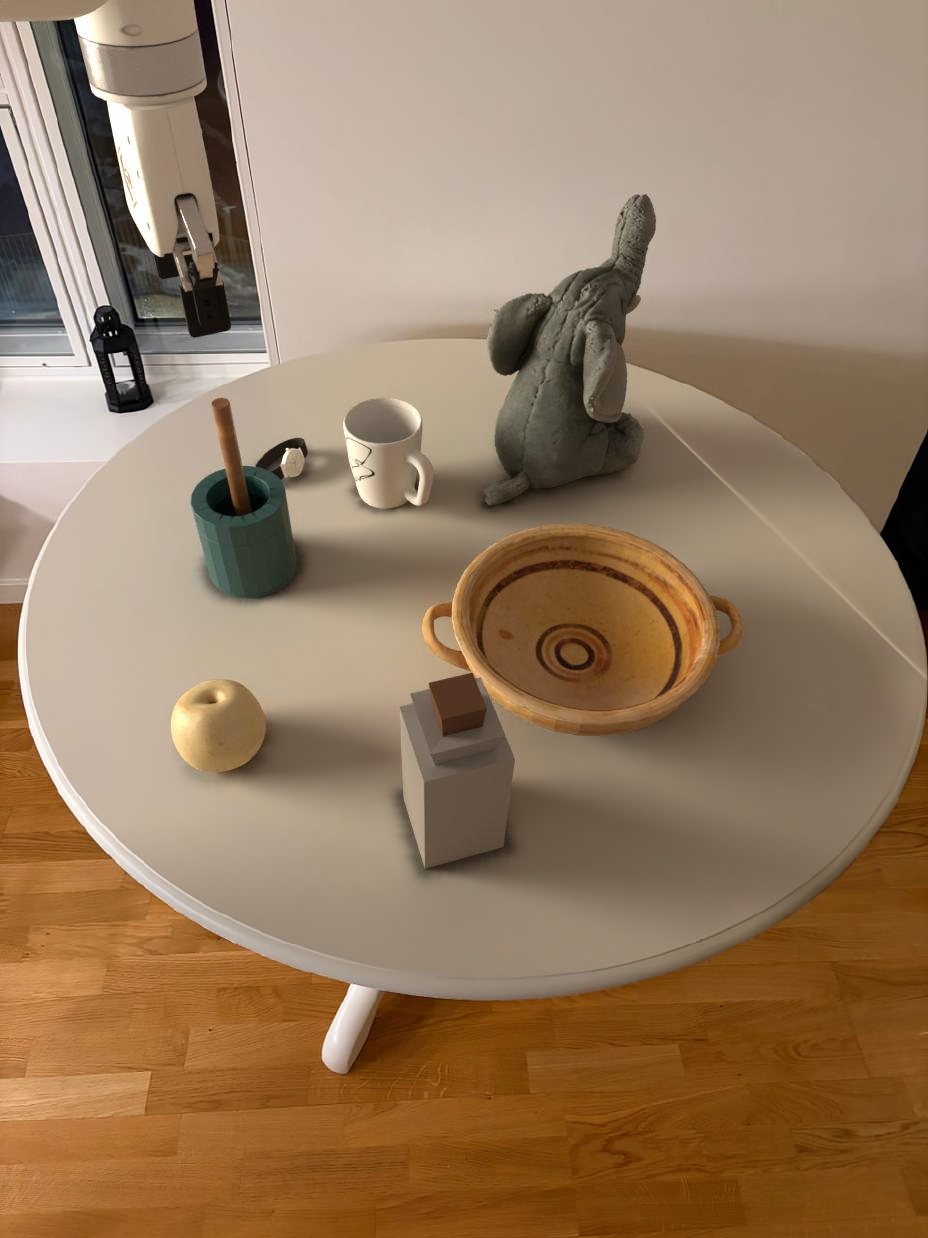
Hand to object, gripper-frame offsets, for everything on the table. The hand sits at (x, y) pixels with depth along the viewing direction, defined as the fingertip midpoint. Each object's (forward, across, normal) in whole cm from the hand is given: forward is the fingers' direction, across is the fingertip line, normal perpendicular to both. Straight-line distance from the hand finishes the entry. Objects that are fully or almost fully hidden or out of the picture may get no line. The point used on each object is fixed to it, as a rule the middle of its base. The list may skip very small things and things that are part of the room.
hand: (193, 302), depth 72 cm
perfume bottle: (+31, +36, +7) cm, 48 cm away
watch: (+30, -14, +9) cm, 35 cm away
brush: (+30, 0, +1) cm, 30 cm away
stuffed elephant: (+30, -3, +40) cm, 50 cm away
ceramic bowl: (+30, +26, +25) cm, 47 cm away
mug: (+30, -4, +19) cm, 36 cm away
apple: (+31, +20, -8) cm, 38 cm away
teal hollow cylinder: (+30, 0, +1) cm, 30 cm away
